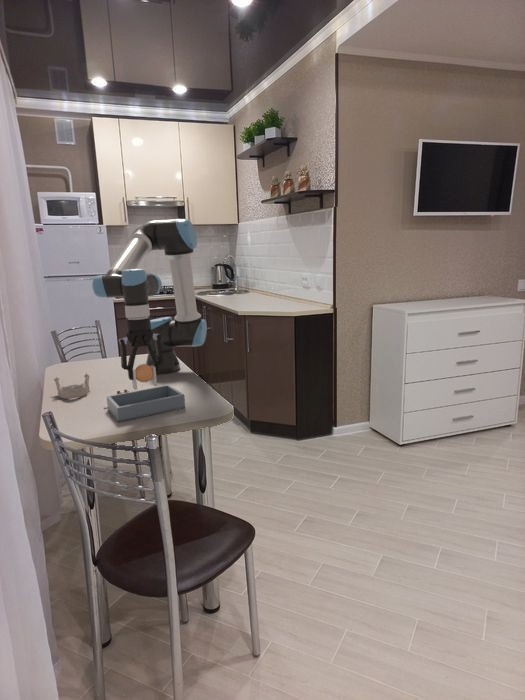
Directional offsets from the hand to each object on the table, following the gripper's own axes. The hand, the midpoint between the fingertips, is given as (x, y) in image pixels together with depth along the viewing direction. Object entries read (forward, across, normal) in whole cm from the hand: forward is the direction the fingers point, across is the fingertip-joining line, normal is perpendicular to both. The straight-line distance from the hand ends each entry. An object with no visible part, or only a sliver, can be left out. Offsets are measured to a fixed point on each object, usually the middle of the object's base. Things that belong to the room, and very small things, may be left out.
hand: (145, 386), depth 152 cm
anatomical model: (+8, +18, -34) cm, 39 cm away
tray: (+8, 0, -1) cm, 8 cm away
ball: (-2, 0, 0) cm, 2 cm away
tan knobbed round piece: (+8, +4, -15) cm, 17 cm away
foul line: (+8, 0, -10) cm, 13 cm away
